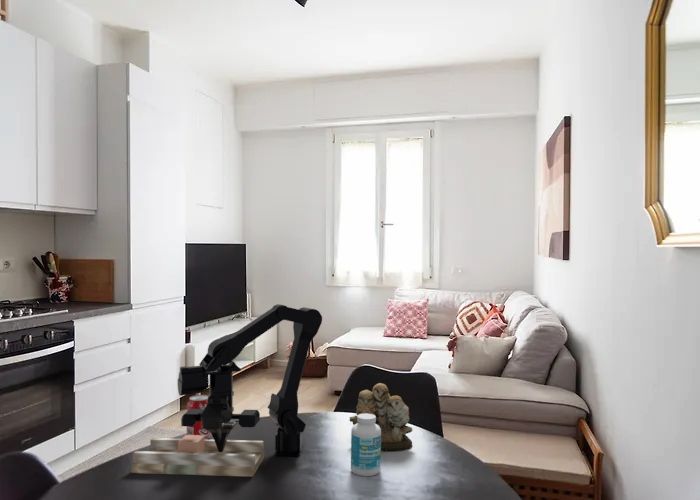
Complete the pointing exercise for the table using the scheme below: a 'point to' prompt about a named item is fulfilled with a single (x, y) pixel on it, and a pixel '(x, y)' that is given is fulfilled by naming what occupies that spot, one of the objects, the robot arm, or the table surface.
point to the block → (192, 444)
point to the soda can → (197, 429)
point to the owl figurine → (386, 417)
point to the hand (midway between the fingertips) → (221, 451)
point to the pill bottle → (366, 446)
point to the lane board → (200, 458)
